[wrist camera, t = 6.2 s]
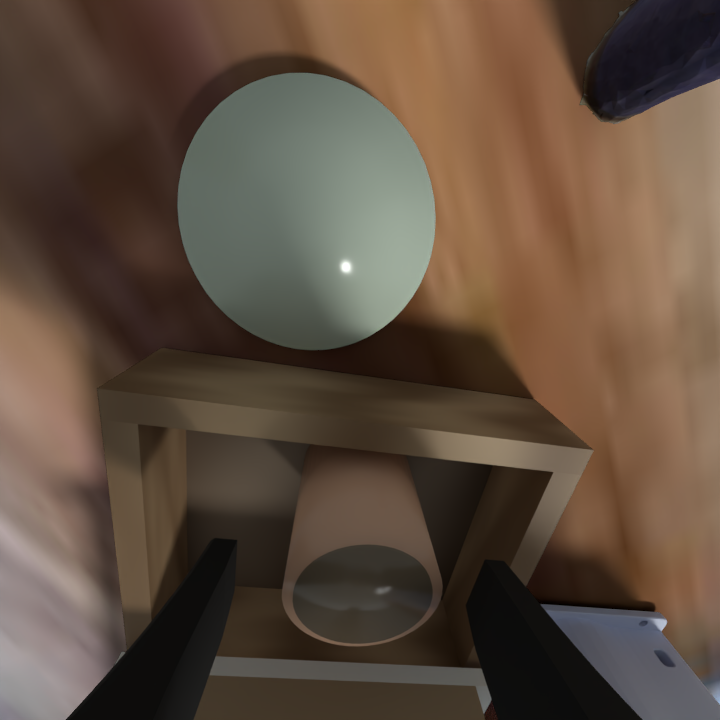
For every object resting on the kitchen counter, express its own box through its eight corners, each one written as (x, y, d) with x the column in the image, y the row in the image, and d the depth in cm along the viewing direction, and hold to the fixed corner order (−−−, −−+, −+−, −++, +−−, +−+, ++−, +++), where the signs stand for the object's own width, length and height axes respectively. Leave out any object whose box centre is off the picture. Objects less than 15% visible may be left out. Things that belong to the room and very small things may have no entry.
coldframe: (535, 399, 14) (593, 450, 11) (452, 606, 18) (476, 686, 15) (161, 347, 12) (97, 388, 9) (171, 587, 17) (129, 672, 14)
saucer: (456, 117, 10) (465, 107, 9) (401, 357, 13) (405, 364, 12) (187, 55, 9) (174, 39, 9) (189, 326, 12) (179, 332, 11)
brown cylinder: (417, 427, 14) (462, 546, 8) (395, 509, 15) (422, 653, 10) (310, 414, 13) (289, 531, 8) (298, 500, 15) (274, 646, 10)
